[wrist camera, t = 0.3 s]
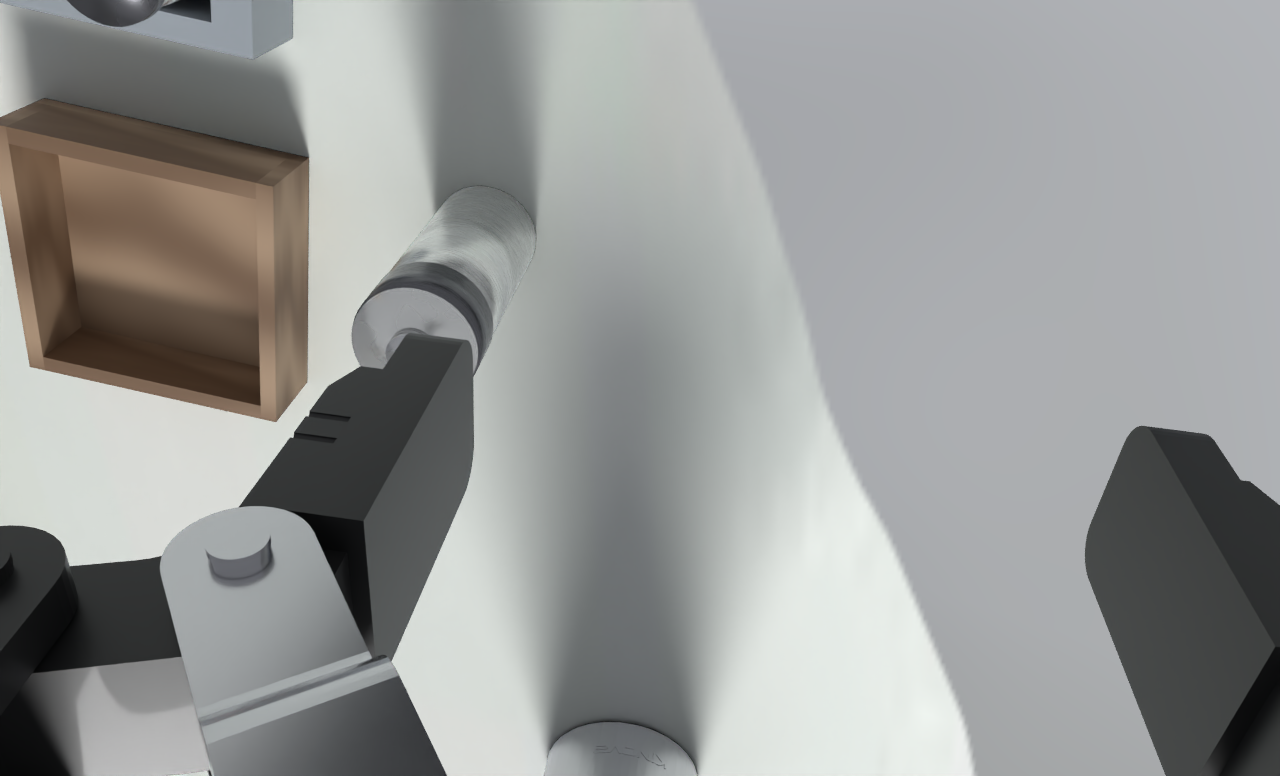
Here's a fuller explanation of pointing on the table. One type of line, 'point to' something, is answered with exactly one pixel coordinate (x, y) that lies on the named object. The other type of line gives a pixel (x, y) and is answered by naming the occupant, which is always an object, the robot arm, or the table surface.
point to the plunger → (119, 10)
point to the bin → (158, 256)
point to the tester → (202, 23)
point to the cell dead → (450, 277)
